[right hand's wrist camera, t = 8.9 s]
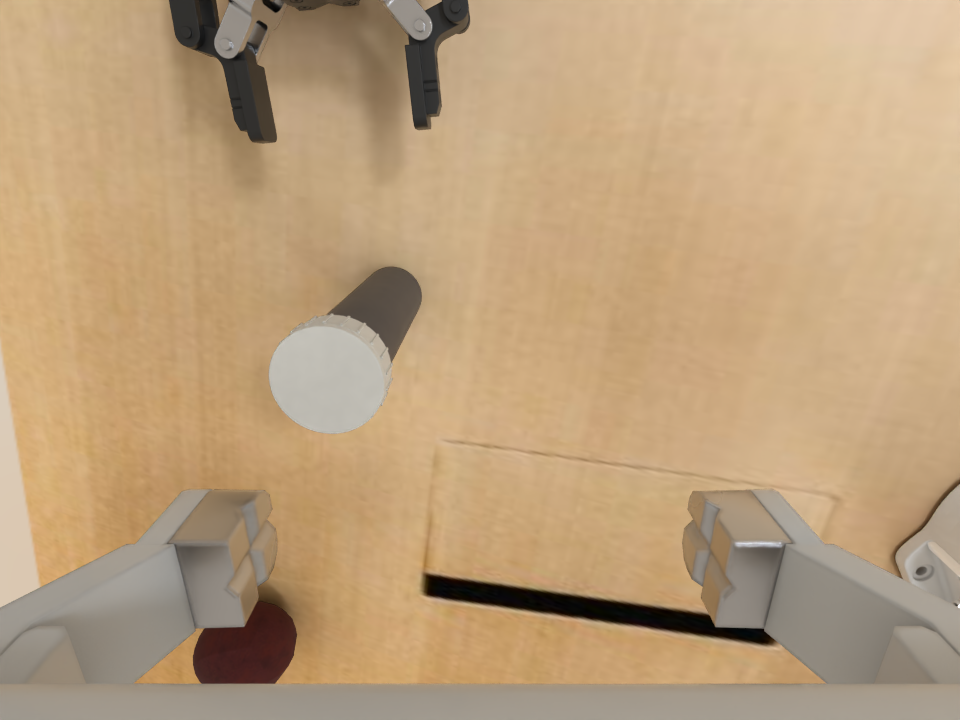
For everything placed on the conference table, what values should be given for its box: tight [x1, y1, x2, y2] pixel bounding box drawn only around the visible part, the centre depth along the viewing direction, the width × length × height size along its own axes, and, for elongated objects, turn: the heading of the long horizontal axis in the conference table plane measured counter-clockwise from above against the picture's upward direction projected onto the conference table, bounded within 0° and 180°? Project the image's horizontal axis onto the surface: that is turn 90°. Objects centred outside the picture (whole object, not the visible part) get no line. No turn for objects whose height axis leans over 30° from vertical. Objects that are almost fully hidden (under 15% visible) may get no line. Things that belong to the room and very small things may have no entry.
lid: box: [269, 313, 393, 434], centre depth 23 cm, size 5×5×2 cm
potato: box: [193, 601, 297, 684], centre depth 44 cm, size 7×8×7 cm
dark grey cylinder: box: [327, 267, 422, 363], centre depth 31 cm, size 4×4×16 cm
